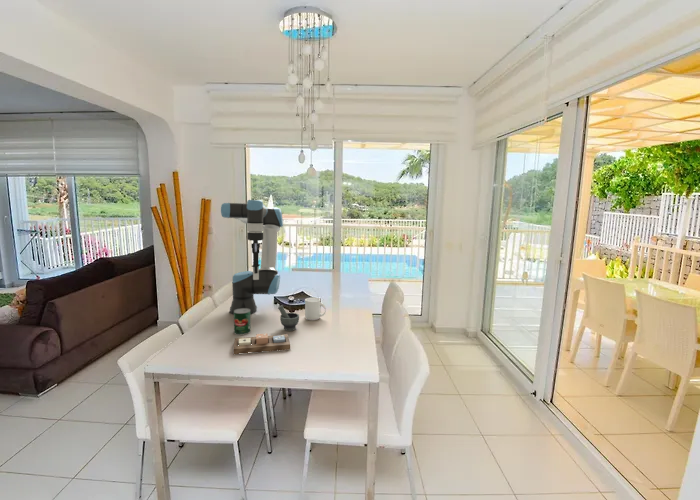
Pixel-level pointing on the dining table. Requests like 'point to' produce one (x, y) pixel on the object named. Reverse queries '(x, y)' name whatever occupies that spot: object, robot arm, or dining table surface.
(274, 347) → the button board
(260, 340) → the button block
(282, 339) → the button block
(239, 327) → the canned tomato
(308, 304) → the mug
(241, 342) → the button block
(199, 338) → the dining table surface
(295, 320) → the mortar and pestle
